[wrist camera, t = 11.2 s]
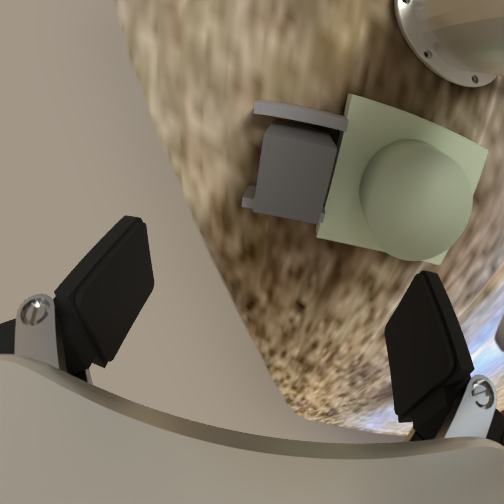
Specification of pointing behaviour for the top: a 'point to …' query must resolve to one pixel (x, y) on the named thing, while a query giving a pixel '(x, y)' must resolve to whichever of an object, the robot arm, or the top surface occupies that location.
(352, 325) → the top surface
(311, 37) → the top surface
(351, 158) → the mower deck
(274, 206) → the grey rectangular block
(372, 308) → the top surface
